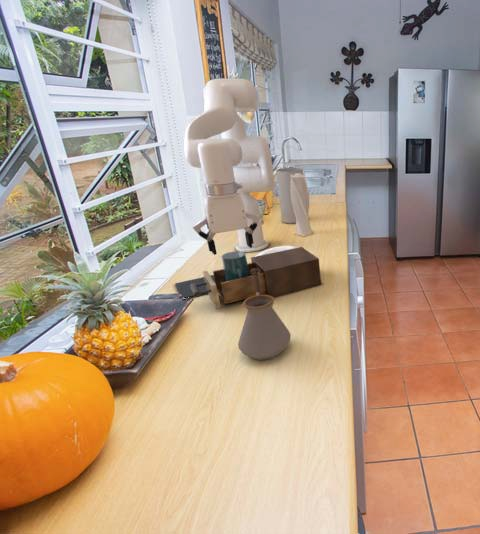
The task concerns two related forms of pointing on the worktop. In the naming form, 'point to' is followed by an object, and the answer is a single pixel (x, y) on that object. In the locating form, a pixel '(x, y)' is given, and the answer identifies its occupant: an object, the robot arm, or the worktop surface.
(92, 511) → the worktop surface
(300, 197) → the skyscraper
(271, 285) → the cabinet
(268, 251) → the banana
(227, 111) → the robot arm
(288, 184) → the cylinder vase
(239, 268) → the teal blue cylinder
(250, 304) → the turkish coffee pot
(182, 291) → the mat
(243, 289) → the drawer
